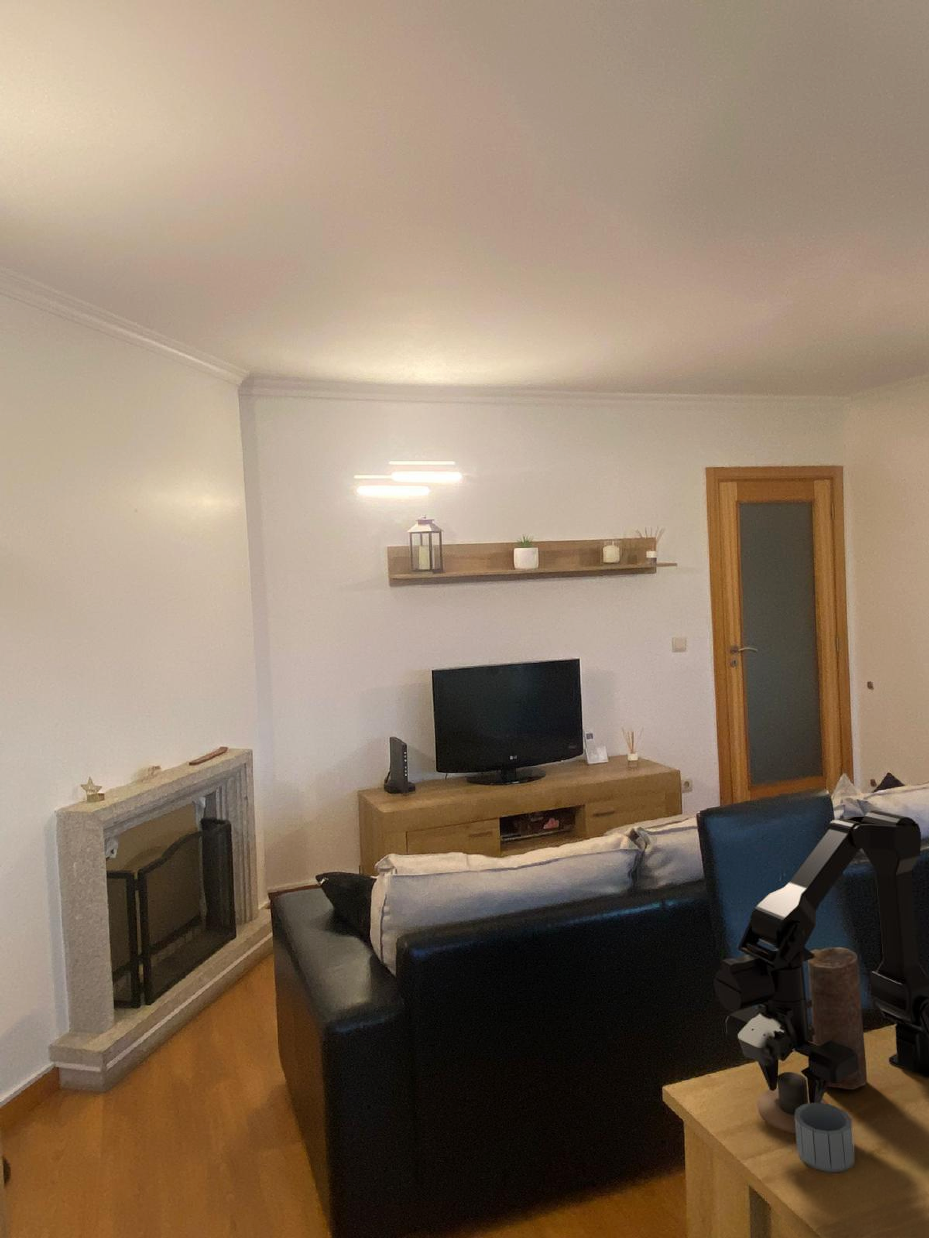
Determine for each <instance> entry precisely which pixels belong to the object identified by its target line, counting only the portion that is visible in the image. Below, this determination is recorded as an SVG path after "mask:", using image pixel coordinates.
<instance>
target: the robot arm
mask: <svg viewBox="0 0 929 1238" xmlns="http://www.w3.org/2000/svg"><path fill="white" fill-rule="evenodd" d="M921 846H922V832H921V827H920V825H919V823H918V822H916V821H915V820H914V819H913V818H912V817H909V816H905V815H900V814H895V813H890V812H886V811H881V810H870V811H868V812H867V813H866V814H865V815H852V816H851V815H850V816H847V817H846V818H835V819H832V820H831V821H830V822H829V824H828V826H827V832H826V833H825V835H824V836H822V839H820V841H819V842H818V844H817V845H816V846H815V847H814V849H813V851H811V853H810V854H809V855H808V856H807V858H806V859H805V861H804V862H803V863H802V865H801V866H800V868H799V869H798V870H797V872H796V873H794V875H793V876H792V878H791V879H790V881H789V882H788V883H787V884H785V886H784V887H782V888H780V889H777V890H776V891H773V892H770V893H769V894H768V895H766V896H765V897H764V899H762V901H760V902H759V903H758V904H757V905H756V906H755V907H754V909H753V911H752V912H751V914H750V920H749V922H748V925H747V927H746V928H745V931H744V933H743V935H742V938H741V939H740V942H739V945H738V948H737V950H738V952H740V953H742V954H744V955H741V956H739V957H735V958H726V959H722V961H721V968H720V969H718V970H717V971H716V973H715V977H714V979H713V987H714V991H715V994H716V997H717V999H718V1001H719V1002H720V1004H721V1005H722V1007H723V1008H724V1009H725V1010H727V1011H728V1012H731V1014H729V1015H727V1018H726V1020H725V1028H726V1029H725V1031H726V1035H727V1036H730V1037H732V1038H734V1039H735V1040H738V1041H739V1044H740V1047H741V1049H742V1052H743V1055H744V1056H745V1057H746V1058H747V1059H751V1060H753V1061H756V1062H757V1063H758V1065H759V1067H760V1069H761V1073H762V1075H763V1077H764V1079H765V1082H766V1084H767V1086H768V1090H771V1091H774V1090H775V1089H776V1088H777V1087H778V1082H777V1077H778V1075H779V1061H781V1062H785V1061H786V1060H787V1059H788V1058H789V1056H790V1055H791V1054H792V1053H793V1052H796V1053H798V1054H801V1055H803V1056H805V1057H806V1058H807V1063H808V1064H807V1065H808V1066H807V1067H805V1068H804V1069H801V1071H800V1073H802V1074H801V1075H802V1076H803V1077H804V1078H805V1079H806V1081H807V1090H808V1094H809V1103H816V1102H817V1103H821V1100H822V1098H823V1099H824V1095H825V1093H826V1091H827V1087H829V1086H828V1083H829V1082H830V1083H838V1082H839V1081H841V1080H843V1079H844V1078H846V1077H847V1076H849V1075H851V1074H852V1073H854V1072H856V1071H857V1070H859V1063H858V1056H857V1053H856V1052H855V1051H854V1050H853V1049H851V1048H848V1047H846V1046H844V1045H841V1044H839V1043H836V1042H834V1041H832V1040H830V1041H828V1042H826V1043H824V1044H823V1045H821V1046H819V1045H817V1044H814V1043H813V1041H810V1038H811V1037H813V1035H815V1032H814V1027H812V1025H809V1021H808V1009H811V1007H812V999H810V997H809V998H808V997H807V995H806V984H805V974H804V962H808V960H810V959H813V958H814V957H815V955H814V954H813V953H812V952H811V950H809V949H808V948H807V947H806V944H807V942H808V941H809V939H810V937H811V935H812V933H813V931H814V930H815V927H816V922H817V919H816V916H817V913H816V912H817V910H818V908H819V906H820V905H821V903H822V902H823V901H824V899H825V897H826V896H827V895H828V893H829V892H831V889H832V888H833V887H834V885H835V884H836V882H838V880H839V878H840V877H841V876H842V875H843V873H845V871H846V869H847V868H848V866H849V865H850V863H852V861H853V859H854V858H855V857H856V855H857V854H858V853H859V851H860V850H863V853H864V854H865V855H866V858H867V860H868V861H869V862H870V864H871V865H872V866H873V868H874V872H875V880H876V881H875V882H876V890H877V891H876V892H877V902H878V915H879V923H880V924H879V925H880V935H881V938H880V939H881V947H882V961H881V963H880V965H879V966H878V968H876V969H877V970H873V971H870V973H869V978H870V979H869V980H870V984H871V991H870V996H871V997H872V998H874V1003H875V1005H876V1006H877V1007H878V1008H879V1010H880V1013H881V1015H882V1017H883V1018H885V1019H888V1020H891V1021H892V1022H895V1027H894V1030H895V1049H896V1053H894V1054H893V1055H891V1056H889V1057H888V1062H889V1063H890V1064H892V1065H895V1066H897V1067H900V1068H902V1069H904V1070H908V1071H910V1072H912V1073H914V1074H916V1075H919V1076H921V1077H924V1078H926V1079H927V1078H928V1079H929V977H928V975H927V973H926V971H925V970H924V968H923V967H922V966H921V964H920V960H919V950H918V949H919V947H918V938H917V925H916V915H915V903H914V894H913V893H914V892H913V883H912V881H913V880H912V871H913V868H914V867H915V865H916V864H917V862H918V860H919V859H920V857H921V849H922V847H921ZM759 942H763V943H765V944H767V945H769V946H772V947H774V948H776V949H772V950H771V949H769V948H766V947H765V946H763V945H760V944H758V943H759ZM756 1006H757V1008H755V1007H756Z"/></svg>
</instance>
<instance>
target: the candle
mask: <svg viewBox="0 0 929 1238" xmlns="http://www.w3.org/2000/svg"><path fill="white" fill-rule="evenodd" d="M810 952H812V953H813V954H814V955H815V957H814V958H813V959H810V960H807V967H808V985H809V999H812V1007H810V1010H811V1027H814V1032H815V1035H813V1036H812V1043H814V1044H817V1045H819V1046H821V1045H823V1044H824V1043H826V1042H828V1041H830V1040H832V1041H834V1042H836V1043H839V1044H841V1045H844V1046H846V1047H848V1048H851V1049H853V1050H854V1051H855V1052H856V1053H857V1056H858V1063H859V1070H857V1071H856V1072H854V1073H852V1074H851V1075H849V1076H847V1077H846V1078H844V1079H843V1080H841V1081H839V1082H838V1083H830V1082H829V1083H828V1086H827V1087H830V1088H837V1089H838V1088H839V1089H846V1090H854V1089H855V1090H856V1089H858V1088H860V1087H862V1086H865V1085H866V1083H867V1081H868V1076H867V1061H866V1060H867V1059H866V1049H865V1047H866V1046H865V1038H864V1025H863V1024H864V1023H863V1016H862V1015H863V1014H862V999H861V987H860V986H861V985H860V973H859V972H860V971H859V959H858V955H857V953H856V952H854V951H852V950H850V949H849V948H845V947H825V948H823V949H814V950H810Z"/></svg>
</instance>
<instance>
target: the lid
mask: <svg viewBox="0 0 929 1238" xmlns="http://www.w3.org/2000/svg"><path fill="white" fill-rule="evenodd" d="M807 1103H809V1094H808V1083H807V1078H806V1077H805V1076H804V1075H803V1074H799V1073H797V1072H792V1071H785V1072H782V1073H780V1074H779V1073H778V1077H777V1088H776V1089H775V1090H774V1091H771V1090H770V1089H767V1090H766V1091H764V1092H762V1094H761V1095H760V1096H759V1097H758V1100H757V1109H758V1114H759V1116H760V1118H762V1120H763V1121H764V1122H766V1123H767V1124H769V1125H770V1126H771V1127H773V1128H775V1129H777V1130H780V1131H783V1132H787V1133H792V1134H796V1130H795V1118H794V1116H795V1110H796V1109H797V1108H798V1107H800V1106H802V1105H803V1104H807ZM821 1103H824V1104H829V1103H828V1101H826V1100H825V1099H824V1097H823V1098H822V1100H821Z"/></svg>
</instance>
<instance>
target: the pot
mask: <svg viewBox="0 0 929 1238" xmlns="http://www.w3.org/2000/svg"><path fill="white" fill-rule="evenodd" d="M794 1118H795V1130H796V1133H795V1141H796V1142H795V1143H796V1150H797V1154H798V1156H799V1158H800V1160H801V1161H803V1162H804V1163H805V1164H806V1165H807V1166H809V1167H810V1168H813V1169H815V1170H817V1171H821V1172H826V1173H842V1172H846V1171H849V1170H850V1169H852V1167H853V1166H854V1164H855V1161H856V1160H855V1143H854V1132H853V1130H854V1129H853V1119H852V1118H851V1117H850V1116H849V1114H848V1113H847V1111H845V1110H843V1109H841V1108H840V1107H837V1106H835V1105H832V1104H829V1103H828V1104H824V1103H817V1102H816V1103H807V1104H803V1105H802V1106H800V1107H798V1108H797V1109H796V1110H795V1116H794Z"/></svg>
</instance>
